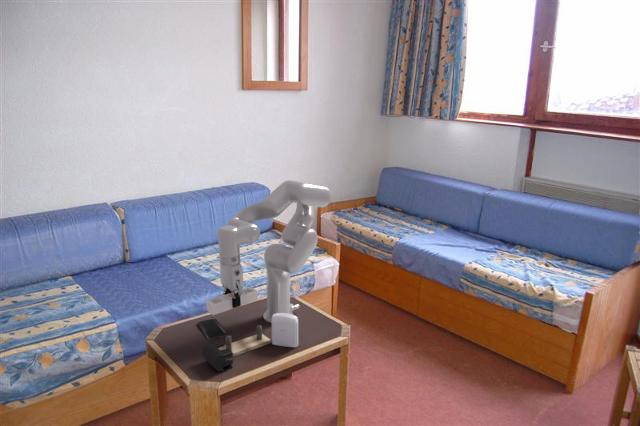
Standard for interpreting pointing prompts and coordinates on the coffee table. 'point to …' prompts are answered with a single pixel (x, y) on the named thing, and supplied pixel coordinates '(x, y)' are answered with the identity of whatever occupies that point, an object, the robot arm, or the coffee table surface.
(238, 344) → the board
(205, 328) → the phone
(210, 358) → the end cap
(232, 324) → the coffee table surface
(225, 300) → the white long block
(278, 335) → the photo printer
